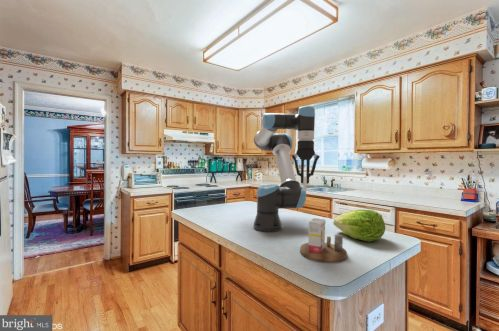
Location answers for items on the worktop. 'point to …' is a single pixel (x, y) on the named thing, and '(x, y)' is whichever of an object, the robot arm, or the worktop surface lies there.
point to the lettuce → (361, 224)
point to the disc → (327, 251)
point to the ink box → (316, 235)
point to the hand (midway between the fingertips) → (304, 190)
